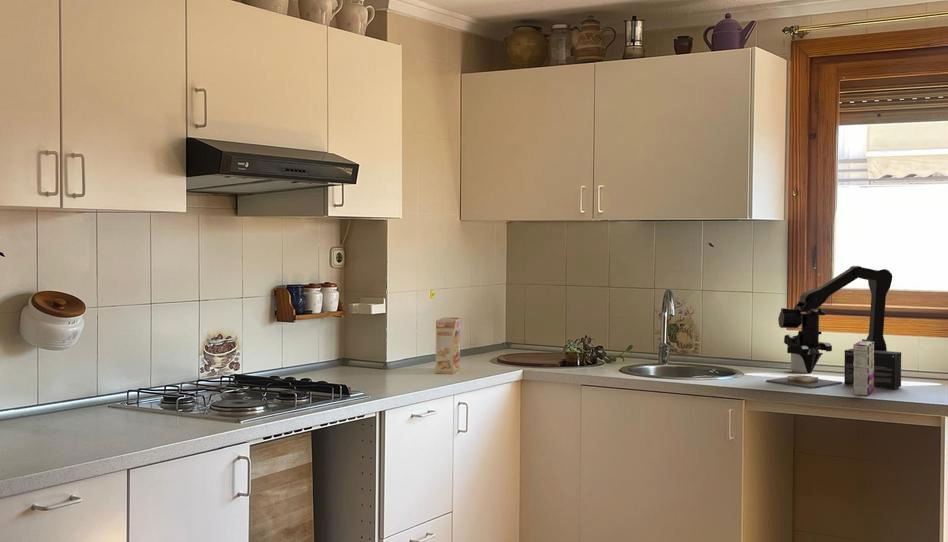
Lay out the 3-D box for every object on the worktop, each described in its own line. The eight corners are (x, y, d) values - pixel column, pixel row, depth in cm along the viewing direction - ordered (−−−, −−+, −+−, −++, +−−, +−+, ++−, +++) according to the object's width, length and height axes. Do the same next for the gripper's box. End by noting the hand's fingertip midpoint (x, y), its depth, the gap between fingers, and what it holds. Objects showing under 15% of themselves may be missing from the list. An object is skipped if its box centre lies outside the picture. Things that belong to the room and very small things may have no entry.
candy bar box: (857, 390, 309) (858, 340, 308) (874, 391, 306) (875, 341, 306) (851, 394, 299) (852, 343, 299) (868, 396, 297) (869, 344, 296)
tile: (818, 377, 321) (808, 378, 317) (818, 382, 321) (808, 384, 318) (797, 374, 327) (787, 375, 324) (797, 379, 328) (787, 381, 324)
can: (793, 370, 356) (794, 338, 356) (813, 371, 352) (814, 340, 352) (788, 372, 350) (788, 340, 350) (808, 374, 346) (809, 341, 345)
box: (901, 386, 315) (902, 351, 314) (895, 390, 310) (895, 354, 309) (850, 381, 326) (850, 347, 325) (843, 384, 321) (843, 350, 320)
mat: (842, 383, 323) (842, 382, 323) (812, 388, 312) (812, 386, 312) (796, 377, 337) (796, 375, 337) (766, 381, 326) (766, 380, 326)
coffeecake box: (453, 374, 339) (454, 320, 338) (434, 373, 340) (435, 320, 339) (461, 368, 354) (461, 317, 353) (442, 368, 355) (442, 316, 354)
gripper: (804, 325, 336) (803, 368, 336) (774, 327, 324) (773, 372, 325) (833, 327, 327) (832, 371, 328) (802, 330, 316) (801, 376, 316)
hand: (809, 373), depth 324 cm, fingers closed
